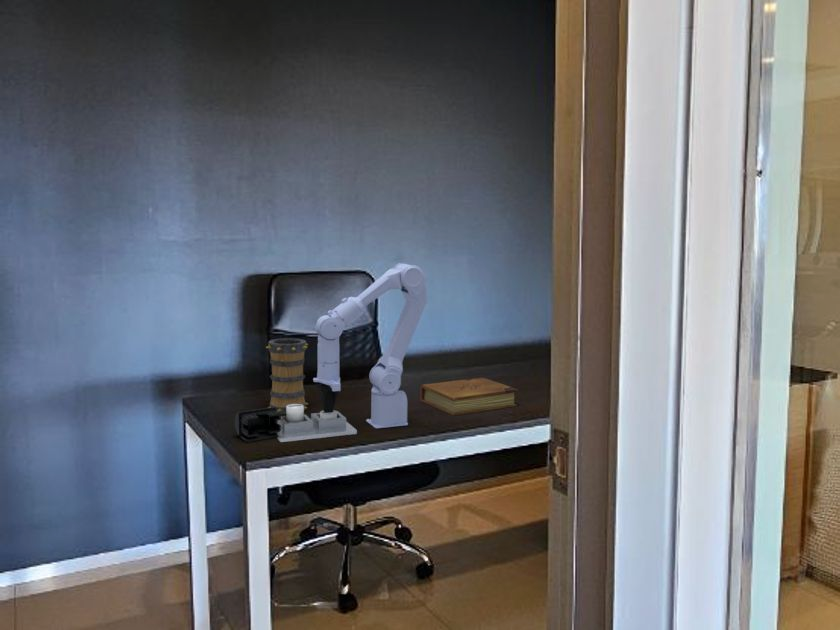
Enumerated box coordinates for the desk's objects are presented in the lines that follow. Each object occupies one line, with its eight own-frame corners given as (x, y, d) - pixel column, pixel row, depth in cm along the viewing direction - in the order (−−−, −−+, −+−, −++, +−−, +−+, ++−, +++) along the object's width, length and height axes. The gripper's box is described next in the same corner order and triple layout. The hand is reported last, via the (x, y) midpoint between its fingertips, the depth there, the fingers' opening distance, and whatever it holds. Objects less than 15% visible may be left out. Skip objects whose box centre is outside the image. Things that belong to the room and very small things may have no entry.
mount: (340, 419, 204) (340, 407, 203) (356, 433, 191) (356, 420, 191) (268, 427, 196) (268, 414, 195) (280, 442, 183) (280, 428, 183)
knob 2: (333, 424, 198) (334, 408, 198) (338, 428, 194) (339, 413, 194) (318, 426, 196) (318, 410, 196) (322, 430, 192) (322, 414, 192)
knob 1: (301, 418, 194) (301, 402, 194) (305, 423, 190) (305, 406, 190) (284, 420, 192) (284, 404, 192) (288, 424, 188) (288, 408, 188)
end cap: (271, 429, 194) (271, 404, 193) (282, 436, 188) (282, 410, 187) (234, 435, 188) (234, 409, 187) (245, 442, 182) (244, 416, 181)
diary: (481, 394, 238) (481, 376, 238) (516, 408, 222) (517, 389, 222) (419, 401, 227) (420, 383, 226) (453, 416, 211) (453, 397, 210)
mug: (273, 417, 205) (272, 346, 202) (255, 403, 220) (254, 337, 217) (316, 412, 211) (316, 343, 209) (296, 398, 226) (296, 334, 224)
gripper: (306, 357, 198) (306, 406, 200) (321, 367, 185) (321, 420, 187) (331, 355, 201) (331, 404, 203) (348, 366, 188) (348, 417, 189)
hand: (328, 411), depth 195 cm, fingers closed, pressing on knob 2
